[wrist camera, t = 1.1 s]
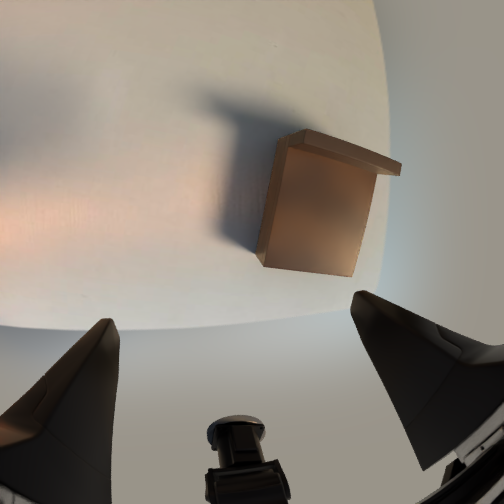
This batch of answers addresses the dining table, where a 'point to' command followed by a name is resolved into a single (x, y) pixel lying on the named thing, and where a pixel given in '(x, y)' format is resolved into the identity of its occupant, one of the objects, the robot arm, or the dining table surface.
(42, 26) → the dining table surface
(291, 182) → the bookend
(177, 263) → the dining table surface
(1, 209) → the dining table surface
